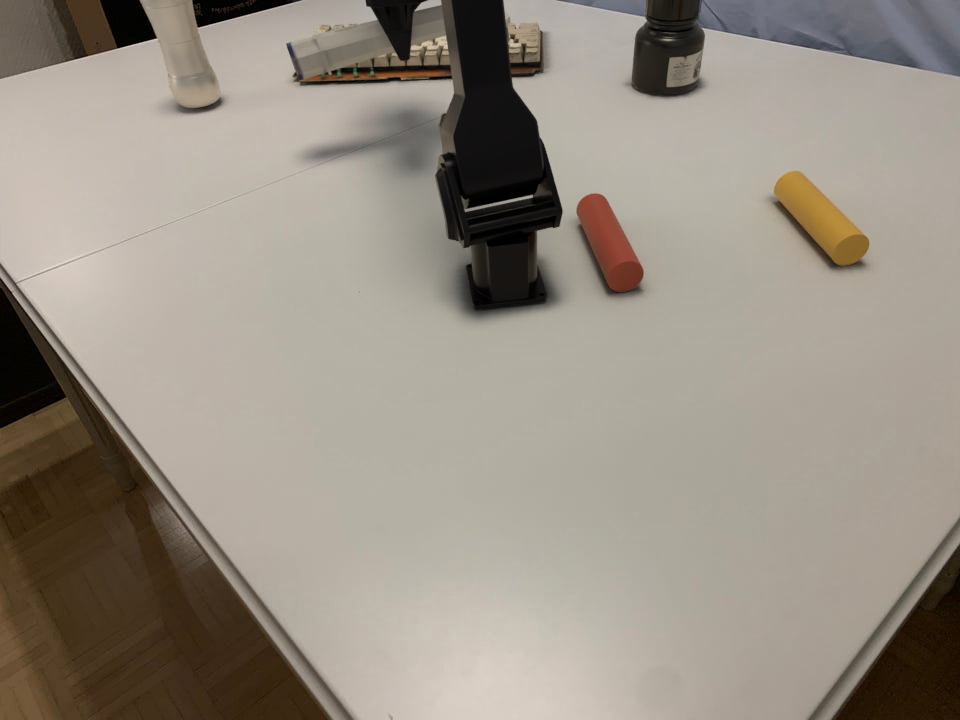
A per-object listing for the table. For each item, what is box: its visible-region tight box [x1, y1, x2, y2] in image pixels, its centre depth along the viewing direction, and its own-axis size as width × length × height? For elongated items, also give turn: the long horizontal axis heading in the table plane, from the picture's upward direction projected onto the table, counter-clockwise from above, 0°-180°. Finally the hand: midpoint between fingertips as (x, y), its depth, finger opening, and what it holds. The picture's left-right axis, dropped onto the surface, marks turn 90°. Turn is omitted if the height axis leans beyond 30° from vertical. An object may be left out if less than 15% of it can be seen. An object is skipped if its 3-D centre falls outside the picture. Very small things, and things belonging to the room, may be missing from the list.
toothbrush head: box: [285, 4, 512, 82], centre depth 80 cm, size 5×7×25 cm
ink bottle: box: [631, 0, 706, 95], centre depth 92 cm, size 10×9×12 cm
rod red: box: [575, 192, 645, 293], centre depth 65 cm, size 12×3×3 cm, turn 7°
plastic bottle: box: [139, 0, 221, 109], centre depth 94 cm, size 6×7×20 cm
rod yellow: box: [773, 170, 870, 266], centre depth 66 cm, size 12×3×3 cm, turn 7°
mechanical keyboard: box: [292, 22, 544, 83], centre depth 108 cm, size 38×19×3 cm, turn 87°
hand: (403, 52), depth 81 cm, fingers closed on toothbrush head, 5 cm apart
